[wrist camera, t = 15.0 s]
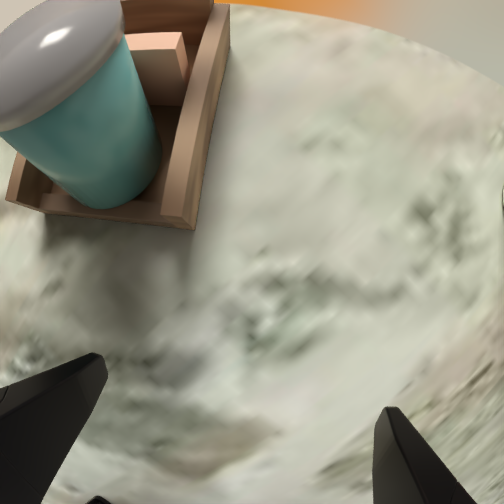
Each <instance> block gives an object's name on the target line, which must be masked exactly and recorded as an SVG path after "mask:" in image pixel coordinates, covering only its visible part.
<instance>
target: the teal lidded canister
mask: <svg viewBox="0 0 504 504" xmlns="http://www.w3.org/2000/svg"><path fill="white" fill-rule="evenodd" d="M124 30H125V17H124V14H123V10H122V7H121V3H120V0H47V1H45V2H43V3H41V4H39V5H37V6H36V7H34V8H32V9H31V10H29V11H28V12H26V13H25V14H23V15H22V16H21V17H19V18H18V19H17V20H15V21H14V22H13V23H12V24H10V25H9V26H8V27H7V28H6V29H5V30H4V31H3V32H2V33H1V34H0V136H1V137H2V138H3V139H4V140H5V141H6V142H7V143H8V144H10V145H11V146H12V147H13V148H14V149H15V150H16V151H18V152H19V153H20V154H21V155H22V156H23V157H25V158H26V159H27V160H28V161H29V162H30V163H32V164H33V165H34V166H35V167H36V168H38V169H39V170H40V171H41V172H42V173H44V174H45V175H46V176H47V177H48V178H50V179H51V180H52V181H53V182H54V183H56V184H57V185H58V186H59V187H61V188H62V189H63V190H64V191H66V192H67V193H68V194H69V195H71V196H72V197H73V198H74V199H76V200H77V201H78V202H79V203H81V204H83V205H84V206H87V207H90V208H94V209H110V208H114V207H118V206H120V205H123V204H125V203H127V202H129V201H131V200H132V199H134V198H135V197H136V196H138V195H139V194H140V193H141V192H142V191H143V190H144V189H145V188H146V187H147V186H148V185H149V184H150V182H151V181H152V180H153V178H154V176H155V175H156V173H157V171H158V169H159V166H160V163H161V158H162V141H161V137H160V135H159V132H158V129H157V127H156V124H155V121H154V119H153V116H152V113H151V110H150V108H149V105H148V102H147V99H146V97H145V94H144V91H143V88H142V85H141V82H140V80H139V77H138V74H137V71H136V68H135V65H134V62H133V59H132V56H131V53H130V50H129V47H128V44H127V41H126V38H125V35H124Z"/></svg>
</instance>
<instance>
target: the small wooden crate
mask: <svg viewBox="0 0 504 504" xmlns="http://www.w3.org/2000/svg"><path fill="white" fill-rule="evenodd" d="M120 3H121V7H122V10H123V14H124V17H125V30H124V35H127V34H140V33H160V32H182V37H183V41H184V46H185V51H186V55H187V60H188V65H189V69H190V74H191V77H190V81H189V84H188V88H187V92H186V95H185V99H184V103H183V106H164V105H149V108H150V110H151V113H152V116H153V119H154V121H155V124H156V127H157V129H158V132H159V135H160V137H161V141H162V158H161V163H160V166H159V169H158V171H157V173H156V175H155V176H154V178H153V180H152V181H151V182H150V184H149V185H148V186H147V187H146V188H145V189H144V190H143V191H142V192H141V193H140V194H139V195H138V196H136V197H135V198H134V199H132V200H131V201H129V202H127V203H125V204H123V205H120V206H118V207H114V208H110V209H94V208H90V207H87V206H84V205H83V204H81V203H79V202H78V201H77V200H76V199H74V198H73V197H72V196H71V195H69V194H68V193H67V192H66V191H64V190H63V189H62V188H61V187H59V186H58V185H57V184H56V183H54V182H53V181H52V180H51V179H50V178H48V177H47V176H46V175H45V174H44V173H42V172H41V171H40V170H39V169H38V168H36V167H35V166H34V165H33V164H32V163H30V162H29V161H28V160H27V159H26V158H25V157H23V156H22V155H21V154H20V153H19V152H18V151H17V154H16V158H15V161H14V165H13V169H12V173H11V176H10V181H9V185H8V189H7V194H6V198H5V200H6V201H9V202H12V203H15V204H18V205H21V206H24V207H27V208H30V209H33V210H36V211H39V212H42V213H48V214H57V215H67V216H76V217H85V218H94V219H103V220H112V221H121V222H130V223H138V224H147V225H155V226H164V227H172V228H180V229H188V230H195V226H196V219H197V213H198V206H199V200H200V194H201V188H202V182H203V176H204V170H205V164H206V159H207V153H208V148H209V142H210V137H211V132H212V127H213V122H214V117H215V112H216V107H217V102H218V97H219V93H220V88H221V83H222V79H223V74H224V70H225V66H226V61H227V57H228V53H229V49H230V4H216V3H214V0H120Z"/></svg>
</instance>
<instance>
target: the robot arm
mask: <svg viewBox="0 0 504 504" xmlns="http://www.w3.org/2000/svg"><path fill="white" fill-rule="evenodd" d="M107 379H108V371H107V368H106V364H105V360H104V358H103V356H102V355H99V354H96V353H93V352H92V353H89V354H86V355H84V356H82V357H79V358H77V359H74V360H72V361H69V362H67V363H64V364H62V365H59V366H57V367H54V368H52V369H49V370H47V371H44V372H42V373H39V374H37V375H34V376H32V377H29V378H26V379H24V380H21V381H19V382H16V383H14V384H11V385H9V386H6V387H3V388H0V504H41V502H42V500H43V497H44V496H45V494H46V492H47V490H48V488H49V486H50V485H51V483H52V481H53V479H54V477H55V475H56V474H57V472H58V470H59V468H60V467H61V465H62V463H63V461H64V459H65V458H66V456H67V454H68V452H69V451H70V449H71V447H72V445H73V444H74V442H75V440H76V439H77V437H78V435H79V433H80V432H81V430H82V428H83V427H84V425H85V423H86V422H87V420H88V418H89V417H90V415H91V413H92V411H93V409H94V407H95V405H96V403H97V400H98V398H99V396H100V394H101V392H102V390H103V387H104V385H105V383H106V381H107ZM372 478H373V504H477V503H476V502H475V501H474V500H473V499H472V497H471V496H470V495H469V494H468V493H467V492H466V490H465V489H464V488H463V487H462V485H461V484H460V483H459V482H457V479H456V478H455V477H454V476H453V474H452V473H451V472H450V471H449V469H448V468H447V467H446V466H445V464H444V463H443V462H442V461H441V459H440V458H439V457H438V456H437V454H436V453H435V452H434V451H433V449H432V448H431V447H430V446H429V445H428V443H427V442H426V441H425V440H424V438H423V437H422V436H421V435H420V433H419V432H418V431H417V430H416V429H415V427H414V426H413V425H412V424H411V422H410V421H409V420H408V419H407V418H406V416H405V415H404V414H403V413H402V411H401V410H400V409H399V408H398V407H385V408H384V409H383V410H382V412H381V414H380V416H379V418H378V420H377V422H376V424H375V429H374V450H373V467H372ZM86 504H110V503H109V502H107V501H106V500H105V499H103V498H102V497H100V496H95V497H93V498H92V499H91V500H90V501H88V502H87V503H86Z"/></svg>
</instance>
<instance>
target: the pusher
mask: <svg viewBox="0 0 504 504" xmlns="http://www.w3.org/2000/svg"><path fill="white" fill-rule="evenodd" d="M125 38H126V41H127V44H128V47H129V50H130V53H131V56H132V59H133V62H134V65H135V68H136V71H137V74H138V77H139V80H140V82H141V85H142V88H143V91H144V94H145V97H146V99H147V102H148V105H164V106H183V103H184V99H185V95H186V92H187V88H188V84H189V81H190V77H191V74H190V69H189V65H188V60H187V55H186V51H185V46H184V41H183V37H182V32H160V33H140V34H127V35H125Z"/></svg>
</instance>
